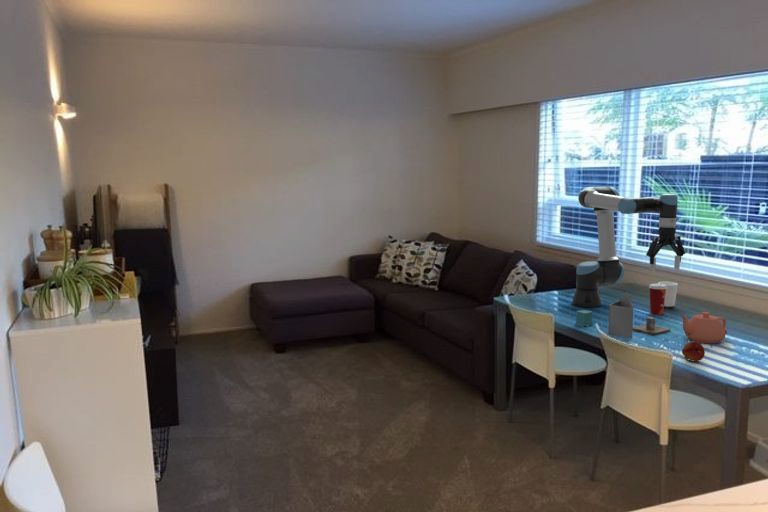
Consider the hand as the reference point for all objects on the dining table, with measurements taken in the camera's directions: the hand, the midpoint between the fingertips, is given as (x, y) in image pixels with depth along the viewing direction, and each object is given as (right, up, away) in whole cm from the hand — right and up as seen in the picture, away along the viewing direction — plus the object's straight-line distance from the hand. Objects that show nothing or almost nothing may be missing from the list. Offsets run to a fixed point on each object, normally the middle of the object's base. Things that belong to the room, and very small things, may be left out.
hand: (664, 269), depth 290 cm
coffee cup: (+4, -23, +18) cm, 29 cm away
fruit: (-15, -35, -55) cm, 67 cm away
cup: (+16, -21, +31) cm, 41 cm away
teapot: (+3, -30, -29) cm, 42 cm away
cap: (-39, -27, -1) cm, 48 cm away
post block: (-13, -28, -13) cm, 33 cm away
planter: (-29, -29, -15) cm, 44 cm away
